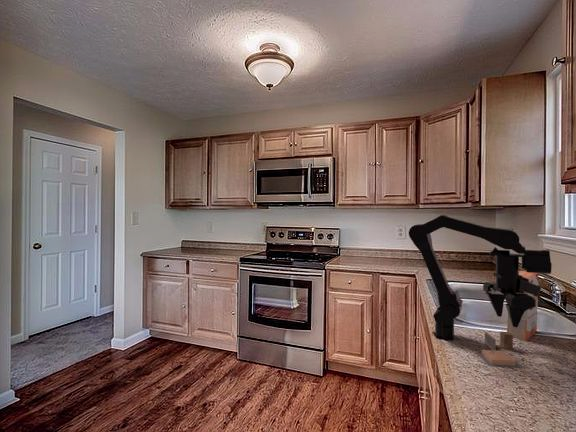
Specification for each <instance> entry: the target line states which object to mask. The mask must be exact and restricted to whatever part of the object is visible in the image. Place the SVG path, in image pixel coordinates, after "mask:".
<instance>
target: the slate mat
mask: <svg viewBox="0 0 576 432" xmlns="http://www.w3.org/2000/svg"><path fill="white" fill-rule="evenodd" d="M476 354H477V355H478V356H479V358H480V359H481V360H482V361H483V362H484V363H485V364H486V365H487V366H488V367H498V368H499V367H500V368H512V369H513V368H515V369H517V368H518V369H525V367H524V366H523V365H522V364H520V362H518V361H517V360H516V359H514V360H515V361H516V365H515V366H512V365H495V364H491V363H490V362H489V361H488V360H487V359H486V358H485V357H484V356H483V355H482V352H476ZM508 355H509V356H511V355H510V354H508Z"/></svg>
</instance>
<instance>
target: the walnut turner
mask: <svg viewBox="0 0 576 432" xmlns="http://www.w3.org/2000/svg"><path fill="white" fill-rule="evenodd" d="M499 338H500V339H499V344H497V343H496V340H497V339H496V338H495V337H493V336H492V334H490V333H488V331H487V332H486V331H485V332H484V344H485V345H486V346H487V347H488V348H490V350H496V349H503V350H514V338H513V335H512V334H511V333H509V332H507V331H500V333H499ZM496 351H497V350H496Z"/></svg>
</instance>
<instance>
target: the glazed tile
mask: <svg viewBox="0 0 576 432" xmlns="http://www.w3.org/2000/svg"><path fill="white" fill-rule="evenodd" d="M481 353H482V355H483V356H484V357H485V358H486V359H487V360H488V361H489V362H490V363H491V364H495V365H512V366H515V365H516V361H517V360H516V359H514V357H512V356H511V355H510V354H508V353H507V352H506V351H505V350H492V349H481ZM509 355H510V356H509ZM515 360H516V361H515Z"/></svg>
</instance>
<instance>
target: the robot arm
mask: <svg viewBox="0 0 576 432" xmlns="http://www.w3.org/2000/svg"><path fill="white" fill-rule="evenodd" d="M442 228H444V229H449V230H453V231H456V232H458V233H463V234H467V235H470V236H473V237H477V238H480V239H483V240H485V241H487V242H488V243H491V244H492V245H495V247H494V248H493V249H492V250H491V251H490V250H489V253H488V254H489V256H495V263H496V264H495V271H494V272H492V273H493V274H492V275H493V277H495V281H486V282H485V283H483V285H482V286H483V287H482V290H483V291H484V293H485V294H486V296H487V298H488V300H489V302H490V304H491V306H492V307H493V310H494V312H495V314H496V316H497V317H499V318H500V317H502V316H503V311H504V305H505V307H506V311H507V314H509V317H510V320H511V323H512V325H513V327H518V325H519V323H520V320H521V318H522V316H523V314H524V312H525V311H526V310H528V309H532V308H533V307H536V300H535V299H534V298H533V297H532V296H529V295H527V294H518V293H524V292H527V293H530V294H533V295H534V296H536V297H539V294H540V292H541V290H542V286H539V285H538V286H537V285H535V284H532V283H529V279H527V278H524V277H522V276H521V275H519V271H520V269H519V268H520V265H521V269H523V270H525V271H526V272H530V273H538V274H545V275H551V274H552V262H551V252H550V250H548V249H540V250H538V249H526V247H525V246H524V245H522V243H520V237H519V234H517V232H516V231H515V230H512V229H510V228H501V227H492V226H491V227H490V226H484V225H482V224H481V225H480V224H476V223H474V222H468V221H466V220H463V219H459V218H456V217H455V218H454V217H451V216H448V215H445V214H441V215H438V216H436V218H434V219H432V220H429V221H427V222H425V223H418V224H414V225H412V226H411V227H410V228H409V230H408V236H409V238H410V240H411V242H412V243H413V245H414V246H415V247H416V248H417V249H418V251H419V252H420V254H421V257H422V258H423V261H424V263H425V266H426V267H427V270H428V272H429V275H430V278H431V280H432V282H433V284H434V287H435V289H436V292H437V297H438V305H439V307H437V308H436V309H435V311H434V314H433V316H432V317H433V319H434V327H435V329H434V331H431V333H432V334H433V336H434V337H435V339H436V340H440V341H441V340H443V341H444V340H445V341H459V339H458V338H457V336H455V319H457V318H458V317H459V316H460V314H461V311H462V309H463V299H462V298H461V297H460V293H459V290H458V289H457V290H455V291H454V290H453V288H452V287H450V285H449V281H448V279H447V277H446V274H445V273H444V271H443V268H442V266H441V264H440V261H439V259H438V256H437V254H436V252H435V250H434V247H433V240H432V235H431V234H432V233H434V232H436V231H437V230H440V229H442ZM496 246H497V247H496ZM498 247H499V248H501V249H499V248H498ZM511 250H512V251H513V252H514V253H511V252H510V251H511ZM520 258H521V259H520ZM520 260H521V261H520ZM519 261H520V262H521V264H520V262H519Z"/></svg>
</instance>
